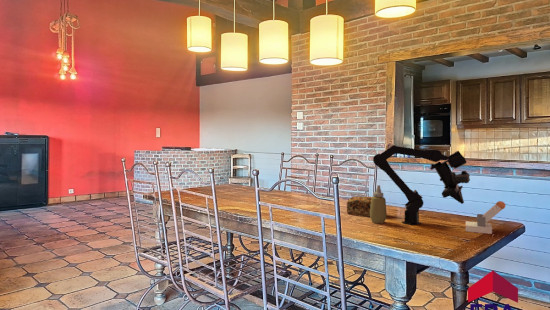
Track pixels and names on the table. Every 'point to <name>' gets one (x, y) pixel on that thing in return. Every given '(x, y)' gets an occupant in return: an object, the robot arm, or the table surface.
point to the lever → (493, 211)
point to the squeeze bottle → (378, 207)
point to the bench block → (479, 225)
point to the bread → (359, 205)
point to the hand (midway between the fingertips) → (462, 203)
